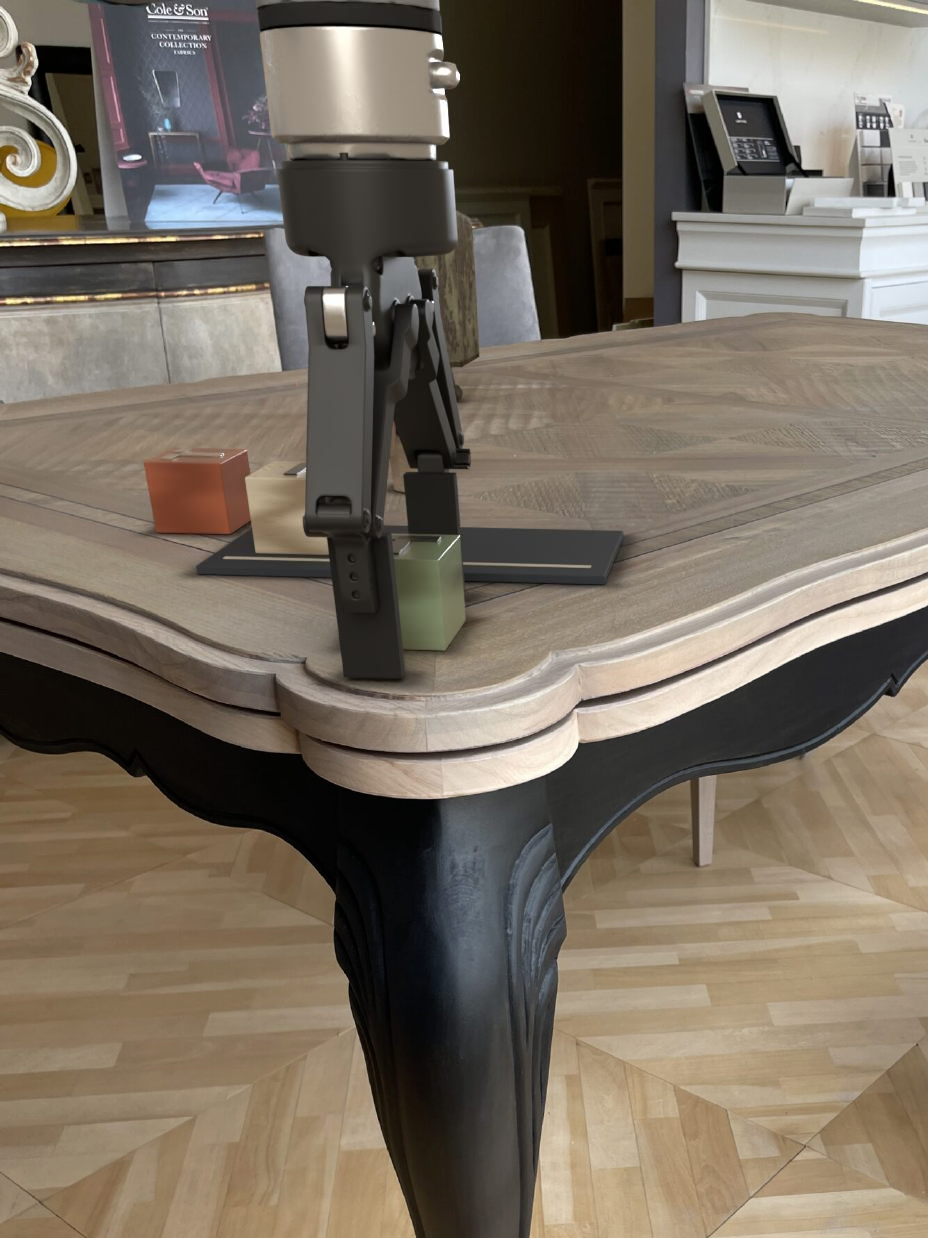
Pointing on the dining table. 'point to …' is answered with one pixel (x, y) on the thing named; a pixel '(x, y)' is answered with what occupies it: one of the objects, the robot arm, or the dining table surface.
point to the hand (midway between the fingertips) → (410, 632)
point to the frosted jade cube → (429, 589)
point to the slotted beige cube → (281, 510)
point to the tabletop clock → (457, 297)
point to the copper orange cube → (199, 490)
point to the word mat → (482, 550)
